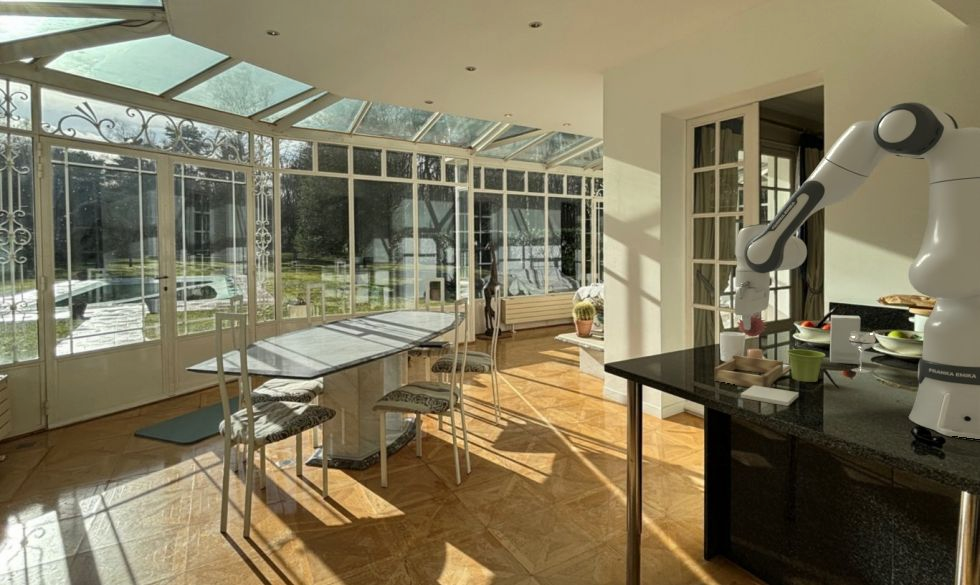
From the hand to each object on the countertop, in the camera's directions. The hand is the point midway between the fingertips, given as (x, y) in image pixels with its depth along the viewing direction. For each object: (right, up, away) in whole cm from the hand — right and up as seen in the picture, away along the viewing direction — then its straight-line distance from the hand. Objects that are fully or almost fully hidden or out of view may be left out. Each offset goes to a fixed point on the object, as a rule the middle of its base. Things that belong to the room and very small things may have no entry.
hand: (751, 327), depth 151 cm
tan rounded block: (+9, -13, +16) cm, 22 cm away
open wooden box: (0, -15, +2) cm, 16 cm away
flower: (0, -3, 0) cm, 3 cm away
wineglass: (+40, -14, +11) cm, 44 cm away
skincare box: (+43, -13, +23) cm, 50 cm away
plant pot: (+15, -16, -2) cm, 22 cm away
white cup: (+5, -14, +23) cm, 28 cm away
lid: (+12, -14, +14) cm, 23 cm away
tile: (-3, -17, -16) cm, 23 cm away
